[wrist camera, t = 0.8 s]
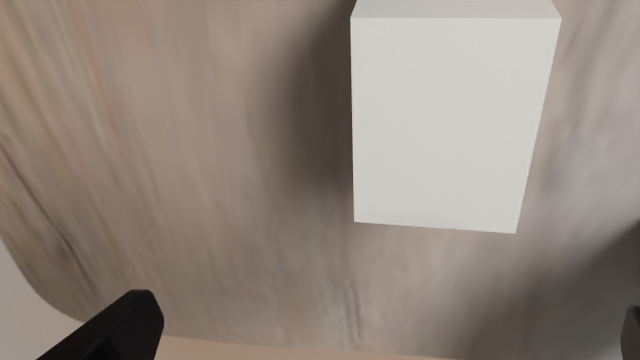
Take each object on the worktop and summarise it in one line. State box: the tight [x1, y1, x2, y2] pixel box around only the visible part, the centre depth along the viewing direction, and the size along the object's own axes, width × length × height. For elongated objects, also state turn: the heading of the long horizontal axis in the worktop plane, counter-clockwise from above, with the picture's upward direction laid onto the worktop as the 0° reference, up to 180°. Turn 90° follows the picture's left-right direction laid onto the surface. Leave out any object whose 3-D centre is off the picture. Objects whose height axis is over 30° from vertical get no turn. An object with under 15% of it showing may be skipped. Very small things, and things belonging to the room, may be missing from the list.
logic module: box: [350, 0, 562, 233], centre depth 16 cm, size 4×6×7 cm
